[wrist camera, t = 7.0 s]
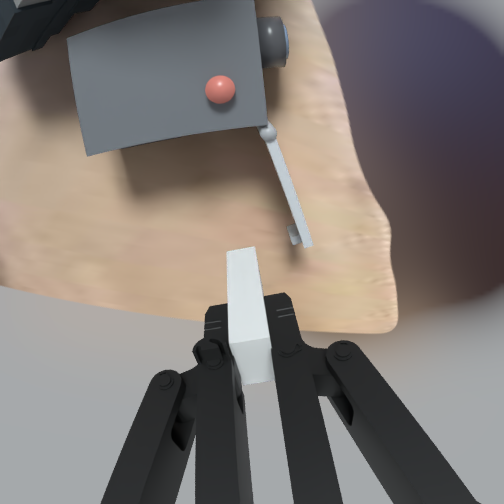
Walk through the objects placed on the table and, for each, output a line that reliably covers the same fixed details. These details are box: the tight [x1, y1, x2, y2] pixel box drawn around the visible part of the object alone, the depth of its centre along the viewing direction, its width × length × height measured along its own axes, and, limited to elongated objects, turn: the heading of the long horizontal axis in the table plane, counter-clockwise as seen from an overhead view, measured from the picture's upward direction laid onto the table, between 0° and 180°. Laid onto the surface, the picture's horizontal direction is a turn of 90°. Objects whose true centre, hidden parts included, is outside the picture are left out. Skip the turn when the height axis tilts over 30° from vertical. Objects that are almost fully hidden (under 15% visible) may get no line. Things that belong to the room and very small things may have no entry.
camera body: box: [67, 0, 289, 157], centre depth 22 cm, size 16×10×8 cm, turn 96°
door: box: [256, 120, 313, 248], centre depth 28 cm, size 11×2×6 cm, turn 21°
